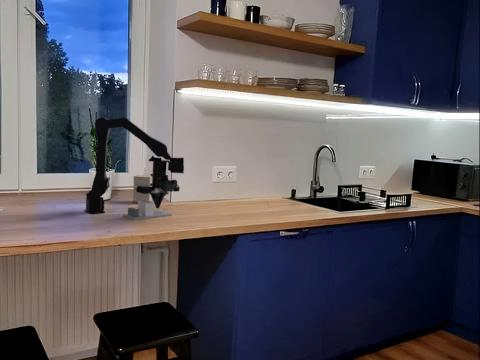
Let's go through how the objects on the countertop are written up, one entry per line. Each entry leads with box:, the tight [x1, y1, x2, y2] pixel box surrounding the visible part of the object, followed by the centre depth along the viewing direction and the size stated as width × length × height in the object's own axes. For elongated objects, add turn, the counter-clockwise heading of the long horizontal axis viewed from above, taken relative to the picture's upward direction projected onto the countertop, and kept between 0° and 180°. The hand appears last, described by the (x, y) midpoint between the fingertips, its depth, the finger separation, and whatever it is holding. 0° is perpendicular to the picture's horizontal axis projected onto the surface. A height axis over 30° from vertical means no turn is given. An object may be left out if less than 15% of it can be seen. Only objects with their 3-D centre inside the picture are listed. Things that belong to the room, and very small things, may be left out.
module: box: [137, 200, 155, 216], centre depth 184 cm, size 4×6×6 cm, turn 45°
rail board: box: [122, 207, 172, 221], centre depth 185 cm, size 18×9×4 cm, turn 135°
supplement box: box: [132, 174, 153, 204], centre depth 212 cm, size 8×5×13 cm, turn 84°
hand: (157, 208), depth 189 cm, fingers closed
